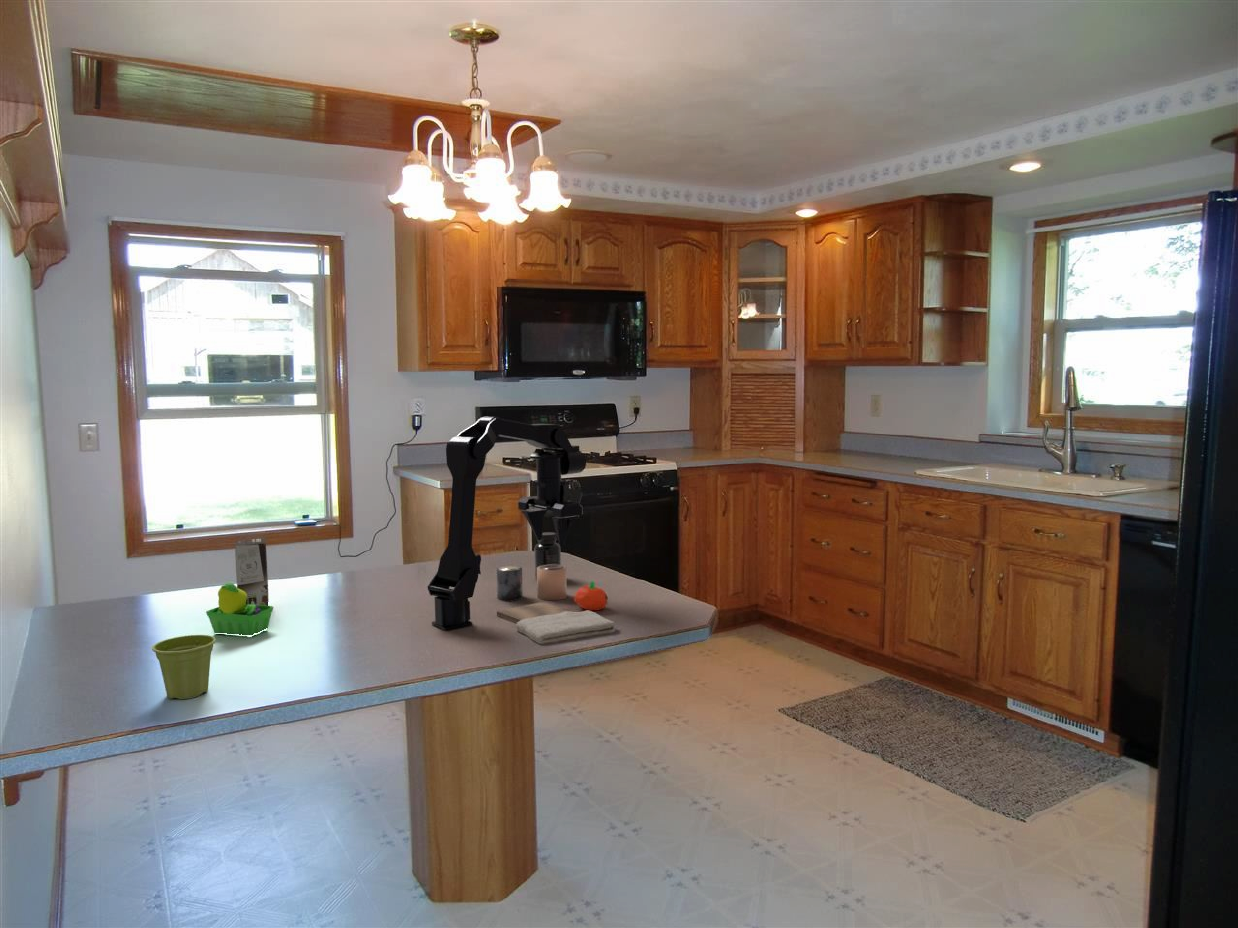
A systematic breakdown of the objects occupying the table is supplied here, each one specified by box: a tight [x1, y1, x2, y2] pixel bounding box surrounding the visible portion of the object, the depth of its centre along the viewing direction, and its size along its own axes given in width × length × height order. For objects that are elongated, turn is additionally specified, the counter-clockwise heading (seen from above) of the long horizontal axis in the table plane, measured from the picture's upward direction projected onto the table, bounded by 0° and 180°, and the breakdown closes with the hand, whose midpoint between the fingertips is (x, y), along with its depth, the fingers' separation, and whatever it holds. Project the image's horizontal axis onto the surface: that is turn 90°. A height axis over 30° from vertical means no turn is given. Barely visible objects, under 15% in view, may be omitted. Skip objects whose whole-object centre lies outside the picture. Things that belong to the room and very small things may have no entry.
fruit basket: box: [205, 582, 275, 635], centre depth 176 cm, size 11×9×11 cm
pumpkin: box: [573, 581, 609, 611], centre depth 193 cm, size 7×8×6 cm
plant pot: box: [151, 634, 216, 700], centre depth 142 cm, size 9×9×9 cm
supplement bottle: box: [533, 531, 562, 581], centre depth 223 cm, size 7×7×12 cm
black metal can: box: [496, 565, 524, 602], centre depth 204 cm, size 6×6×7 cm
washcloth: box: [515, 609, 616, 645], centre depth 176 cm, size 12×18×3 cm, turn 120°
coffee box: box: [234, 537, 269, 606], centre depth 194 cm, size 9×6×16 cm
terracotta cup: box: [536, 564, 568, 601], centre depth 205 cm, size 7×7×7 cm
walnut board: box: [496, 601, 572, 624], centre depth 187 cm, size 12×12×1 cm
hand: (550, 542), depth 204 cm, fingers open, 9 cm apart
